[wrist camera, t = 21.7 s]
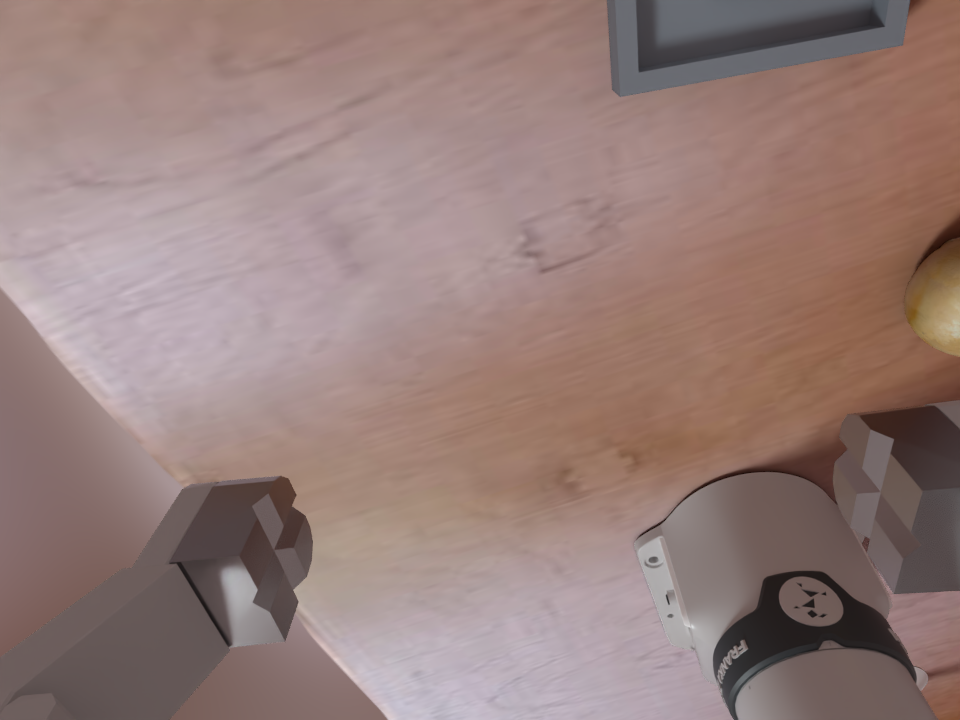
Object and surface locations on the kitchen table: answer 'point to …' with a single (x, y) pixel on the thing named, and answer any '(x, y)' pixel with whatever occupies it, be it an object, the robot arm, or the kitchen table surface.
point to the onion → (937, 299)
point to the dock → (739, 37)
